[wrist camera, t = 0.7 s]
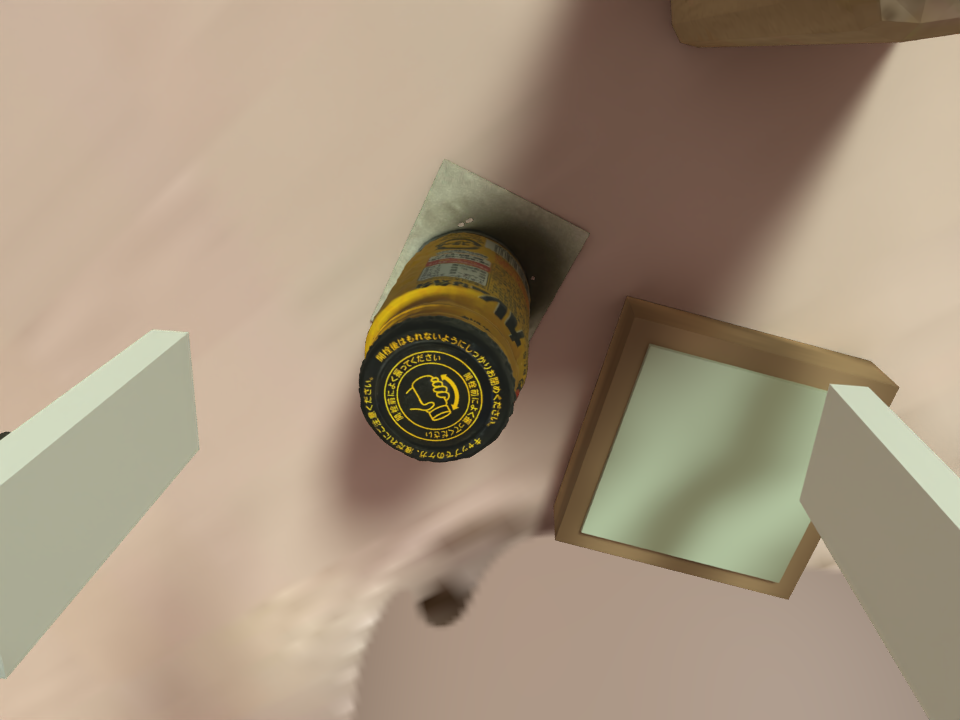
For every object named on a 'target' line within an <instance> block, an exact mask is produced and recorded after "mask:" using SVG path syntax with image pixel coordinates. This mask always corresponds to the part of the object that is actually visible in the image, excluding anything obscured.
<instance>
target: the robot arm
mask: <svg viewBox="0 0 960 720" xmlns="http://www.w3.org/2000/svg"><path fill="white" fill-rule="evenodd" d="M198 450H199V439H198V428H197V417H196V406H195V396H194V385H193V374H192V363H191V352H190V342H189V332H178V331H166V330H153V329H152V330H151V331H150V332H148V333H147V334H146V335H144V336H143V337H141V338H140V339H139V340H137V341H136V342H135V343H133V344H132V345H130V346H129V347H128V348H126V349H125V350H124V351H122V352H121V353H119V354H118V355H117V356H115V357H114V358H113V359H111V360H110V361H108V362H107V363H106V364H104V365H103V366H102V367H100V368H99V369H98V370H96V371H95V372H93V373H92V374H91V375H89V376H88V377H87V378H85V379H84V380H82V381H81V382H80V383H78V384H77V385H76V386H74V387H73V388H71V389H70V390H69V391H67V392H66V393H65V394H63V395H62V396H60V397H59V398H58V399H56V400H55V401H54V402H52V403H51V404H50V405H48V406H47V407H45V408H44V409H43V410H41V411H40V412H39V413H37V414H36V415H34V416H33V417H32V418H30V419H29V420H28V421H26V422H25V423H23V424H22V425H21V426H19V427H18V428H17V429H15V430H14V431H12V432H4V433H1V434H0V678H3V679H7V677H8V676H9V675H10V674H11V673H12V671H13V670H14V669H15V668H16V667H17V665H18V664H19V663H20V662H21V661H22V660H23V658H24V657H25V656H26V655H27V654H28V652H29V651H30V650H31V649H32V648H33V646H34V645H35V644H36V643H37V642H38V641H39V639H40V638H41V637H42V636H43V635H44V633H45V632H46V631H47V630H48V629H49V627H50V626H51V625H52V624H53V623H54V621H55V620H56V619H57V618H58V617H59V616H60V614H61V613H62V612H63V611H64V610H65V608H66V607H67V606H68V605H69V604H70V602H71V601H72V600H73V599H74V598H75V596H76V595H77V594H78V593H79V592H80V591H81V589H82V588H83V587H84V586H85V585H86V583H87V582H88V581H89V580H90V579H91V577H92V576H93V575H94V574H95V573H96V571H97V570H98V569H99V568H100V567H101V566H102V564H103V563H104V562H105V561H106V560H107V558H108V557H109V556H110V555H111V554H112V552H113V551H114V550H115V549H116V548H117V546H118V545H119V544H120V543H121V542H122V541H123V539H124V538H125V537H126V536H127V535H128V533H129V532H130V531H131V530H132V529H133V527H134V526H135V525H136V524H137V523H138V522H139V520H140V519H141V518H142V517H143V516H144V514H145V513H146V512H147V511H148V510H149V508H150V507H151V506H152V505H153V504H154V502H155V501H156V500H157V499H158V498H159V497H160V495H161V494H162V493H163V492H164V491H165V489H166V488H167V487H168V486H169V485H170V483H171V482H172V481H173V480H174V479H175V477H176V476H177V475H178V474H179V473H180V472H181V470H182V469H183V468H184V467H185V466H186V464H187V463H188V462H189V461H190V460H191V458H192V457H193V456H194V455H195V454H196V452H197V451H198ZM799 501H800V503H801V504H802V506H803V508H804V509H805V511H806V513H807V514H808V516H809V518H810V520H811V521H812V523H813V525H814V526H815V528H816V530H817V531H818V533H819V535H820V536H821V538H822V540H823V541H824V543H825V545H826V547H827V548H828V550H829V552H830V553H831V555H832V557H833V558H834V560H835V562H836V563H837V565H838V567H839V568H840V570H841V572H842V574H843V575H844V577H845V578H846V580H847V582H848V584H849V585H850V587H851V589H852V590H853V592H854V594H855V595H856V597H857V599H858V600H859V602H860V603H861V606H862V607H863V609H864V610H865V612H866V614H867V615H868V617H869V619H870V621H871V622H872V624H873V626H874V627H875V629H876V631H877V633H878V634H879V636H880V638H881V639H882V641H883V643H884V644H885V646H886V648H887V649H888V651H889V653H890V654H891V656H892V658H893V660H894V661H895V663H896V664H897V666H898V668H899V670H900V671H901V673H902V675H903V676H904V678H905V680H906V681H907V683H908V684H909V686H910V688H911V690H912V692H913V693H914V695H915V697H916V698H917V700H918V702H919V703H920V705H921V707H922V708H923V710H924V712H925V713H926V715H927V717H928V719H929V720H960V478H959V477H958V476H957V475H956V474H955V473H954V472H953V471H952V470H951V469H950V468H949V467H948V466H947V465H946V464H945V463H944V462H943V461H942V460H941V459H940V458H939V457H938V456H937V455H936V454H935V453H934V452H933V451H932V450H931V449H930V448H929V447H928V446H927V445H926V444H925V443H924V442H923V441H922V440H921V439H920V438H919V437H918V436H917V435H916V434H915V433H914V432H913V431H912V430H911V429H910V428H909V427H908V426H907V425H906V424H905V423H904V422H903V421H902V420H901V419H900V418H899V417H898V416H897V415H896V414H895V413H894V412H893V411H892V410H891V409H890V408H889V407H888V406H887V405H886V404H885V403H884V402H883V401H882V400H881V399H880V398H879V397H878V396H877V395H876V394H875V393H874V392H873V391H872V390H871V389H870V388H869V387H863V386H851V385H839V384H829V388H828V392H827V396H826V399H825V403H824V407H823V411H822V415H821V419H820V423H819V426H818V430H817V434H816V438H815V442H814V446H813V450H812V453H811V457H810V461H809V465H808V469H807V473H806V477H805V480H804V484H803V488H802V492H801V496H800V500H799Z"/></svg>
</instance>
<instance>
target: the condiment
mask: <svg viewBox="0 0 960 720" xmlns="http://www.w3.org/2000/svg"><path fill="white" fill-rule="evenodd" d="M469 218H472V219H473V220H474V221H472V222H470V223H466V220H467V219H469ZM462 222H463V223H464V226H463V227H459V226H457V225H458V224H459V223H462ZM589 234H590V233H588V232H586V231H584V230H582V229H581V228H579V227H577V226H574V225H573V224H571V223H569V222H568V221H566V220H563V219H562V218H560V217H558V216H556V215H554V214H552V213H550V212H548V211H546V210H544V209H542V208H540V207H539V206H537V205H535V204H533V203H530V202H529V201H527V200H525V199H523V198H521V197H519V196H517V195H515V194H513V193H511V192H509V191H508V190H505V189H504V188H501V187H499V186H497V185H495V184H493V183H491V182H489V181H487V180H485V179H483V178H481V177H479V176H478V175H476V174H474V173H472V172H469V171H467V170H465V169H463V168H461V167H459V166H457V165H455V164H453V163H451V162H449V161H448V160H446V159H444V161H443V163H442V165H441V167H440V169H439V171H438V174H437V176H436V178H435V180H434V182H433V185H432V187H431V189H430V191H429V193H428V195H427V198H426V200H425V202H424V204H423V207H422V209H421V211H420V213H419V215H418V217H417V219H416V222H415V224H414V226H413V228H412V230H411V233H410V235H409V237H408V239H407V242H406V244H405V246H404V248H403V250H402V253H401V255H400V257H399V259H398V261H397V263H396V266H395V268H394V270H393V272H392V274H391V277H390V279H389V281H388V283H387V285H386V288H385V290H384V292H383V294H382V296H381V298H380V301H379V303H378V305H377V307H376V309H375V311H374V314H373V316H372V318H371V321H373V322H372V325H371V327H370V329H369V331H368V335H367V337H366V342H365V359H364V360H363V362H362V366H361V368H360V374H359V387H360V388H359V393H360V398H361V409H362V412H363V414H364V416H365V418H366V420H367V422H368V423H369V425H370V426H371V427H372V429H373V430H374V431H375V432H376V434H377V435H378V436H379V437H380V438H381V439H382V440H383V441H384V442H385V443H386V444H388V445H389V446H391V447H392V448H394V449H396V450H398V451H400V452H402V453H404V454H405V455H407V456H409V457H411V458H415V459H417V460H419V461H431V462H448V461H455V460H459V459H463V458H470V457H472V456H473V455H475V454H476V453H478V452H479V451H481V450H482V449H484V448H485V447H486V446H488V445H489V444H491V443H492V442H493V441H495V440H496V439H497V438H498V436H499V435H500V433H501V432H502V430H503V429H504V428H505V427H506V425H507V423H508V421H509V417H510V416H511V415H512V414H513V406H514V402H515V401H516V399H517V397H518V395H519V392H520V390H521V389H522V388H523V385H524V383H525V379H526V375H527V370H528V347H529V344H528V343H529V341H530V339H531V337H532V335H533V334H534V332H535V330H536V328H537V327H538V325H539V323H540V321H541V319H542V318H543V316H544V314H545V312H546V311H547V309H548V307H549V305H550V304H551V302H552V300H553V299H554V297H555V295H556V293H557V291H558V289H559V287H560V286H561V284H562V282H563V281H564V278H565V277H566V275H567V273H568V271H569V270H570V268H571V266H572V264H573V262H574V261H575V259H576V257H577V256H578V254H579V252H580V250H581V249H582V247H583V245H584V243H585V241H586V239H587V238H588V236H589ZM532 276H534V277H535V279H534V280H532V279H531V277H532Z"/></svg>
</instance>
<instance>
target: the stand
mask: <svg viewBox="0 0 960 720" xmlns="http://www.w3.org/2000/svg"><path fill="white" fill-rule="evenodd" d="M829 384H839V385H851V386H863V387H869V388H870V389H871V390H872V391H873V392H874V393H875V394H876V395H877V396H878V397H879V398H880V399H881V400H882V401H883V402H884V403H885V404H886V405H887V406H888V407H889V406H890V405H891V403H892V401H893V399H894V397H895V395H896V393H897V391H898V389H899V386H897V385H896V384H895V383H894V382H893V381H892V380H891V379H890V378H889V377H888V376H887V375H885V374H884V373H883V372H882V371H881V370H880V369H879V368H878V367H877V366H876V365H874V364H873V363H872V362H871V361H868V360H864V359H861V358H857V357H853V356H849V355H846V354H842V353H838V352H834V351H831V350H827V349H823V348H819V347H816V346H812V345H808V344H804V343H801V342H797V341H793V340H790V339H786V338H782V337H778V336H775V335H771V334H767V333H763V332H760V331H756V330H752V329H748V328H745V327H741V326H737V325H734V324H730V323H726V322H722V321H719V320H715V319H711V318H707V317H704V316H700V315H696V314H692V313H689V312H685V311H681V310H678V309H674V308H670V307H666V306H663V305H659V304H655V303H651V302H648V301H644V300H640V299H636V298H633V297H629V296H627V297H626V300H625V303H624V306H623V309H622V312H621V315H620V318H619V320H618V323H617V326H616V329H615V332H614V335H613V338H612V340H611V343H610V346H609V349H608V352H607V355H606V358H605V361H604V363H603V366H602V369H601V372H600V375H599V378H598V381H597V383H596V386H595V389H594V392H593V395H592V398H591V401H590V404H589V406H588V409H587V412H586V415H585V418H584V421H583V424H582V426H581V429H580V432H579V435H578V438H577V441H576V444H575V447H574V449H573V452H572V455H571V458H570V461H569V464H568V467H567V469H566V472H565V475H564V478H563V481H562V484H561V487H560V490H559V492H558V495H557V498H556V501H555V504H554V525H555V540H557V541H560V542H564V543H568V544H572V545H576V546H580V547H584V548H588V549H592V550H596V551H600V552H603V553H607V554H612V555H615V556H619V557H623V558H627V559H631V560H635V561H639V562H643V563H647V564H650V565H654V566H658V567H663V568H666V569H670V570H674V571H678V572H682V573H686V574H690V575H694V576H697V577H702V578H706V579H710V580H713V581H717V582H721V583H725V584H729V585H733V586H737V587H741V588H745V589H748V590H752V591H756V592H760V593H764V594H768V595H772V596H776V597H780V598H784V599H789V597H790V595H791V594H792V592H793V590H794V588H795V586H796V584H797V582H798V580H799V578H800V576H801V574H802V573H803V571H804V569H805V567H806V565H807V563H808V561H809V559H810V557H811V555H812V553H813V552H814V550H815V548H816V546H817V544H818V542H819V540H820V538H821V536H820V535H819V533H818V531H817V530H816V528H815V526H814V525H813V523H812V521H811V520H810V518H809V516H808V514H807V513H806V511H805V509H804V508H803V506H802V504H801V503H800V501H799V500H800V496H801V492H802V488H803V484H804V480H805V477H806V473H807V469H808V465H809V461H810V457H811V453H812V450H813V446H814V442H815V438H816V434H817V430H818V426H819V423H820V419H821V415H822V411H823V407H824V403H825V399H826V396H827V392H828V388H829Z"/></svg>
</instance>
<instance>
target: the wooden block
mask: <svg viewBox="0 0 960 720" xmlns="http://www.w3.org/2000/svg"><path fill="white" fill-rule="evenodd" d="M671 17H672V26H673V28H674V30H675V32H676V34H677V37H678V39H679V41H680V43H684V44H688V45H691V46H695V47H698V48H700V47H739V46H777V45H815V44H853V43H892V42H906V41H913V40H919V39H926V38H933V37H940V36H947V35H953V34H960V0H671Z"/></svg>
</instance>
